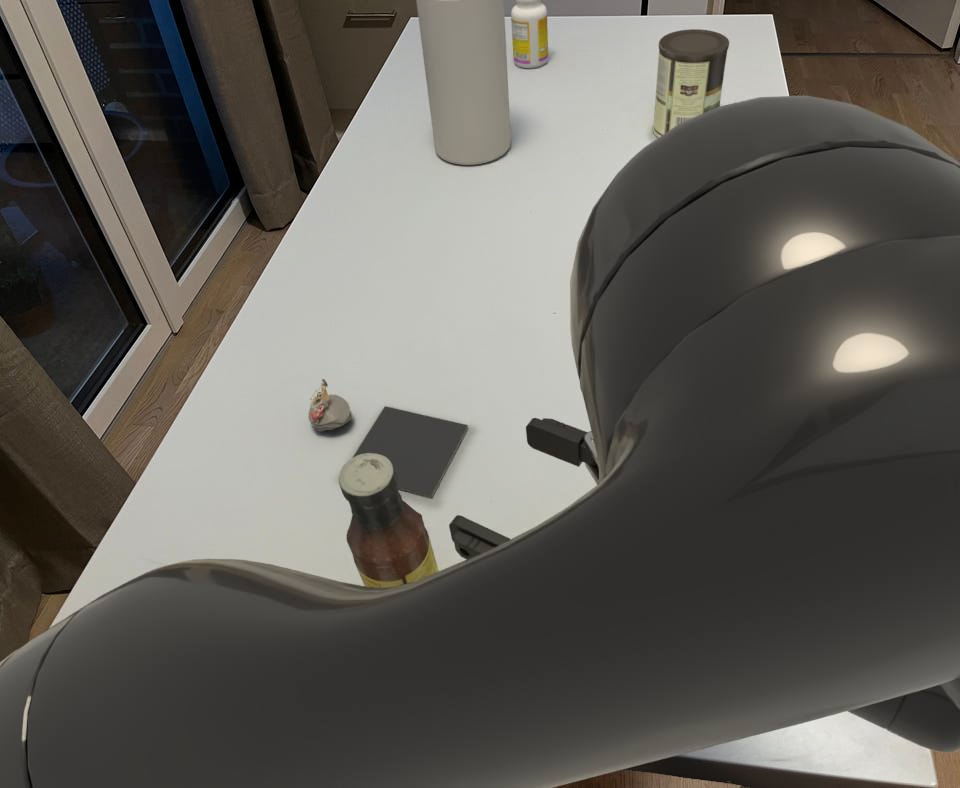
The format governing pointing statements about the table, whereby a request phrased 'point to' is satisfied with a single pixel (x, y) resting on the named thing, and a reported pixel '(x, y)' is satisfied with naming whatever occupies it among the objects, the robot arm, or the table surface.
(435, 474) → the slate coaster
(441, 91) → the cylinder vase
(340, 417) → the figurine
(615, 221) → the robot arm
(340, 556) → the table surface
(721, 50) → the coffee can
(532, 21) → the supplement bottle
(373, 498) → the sauce bottle
